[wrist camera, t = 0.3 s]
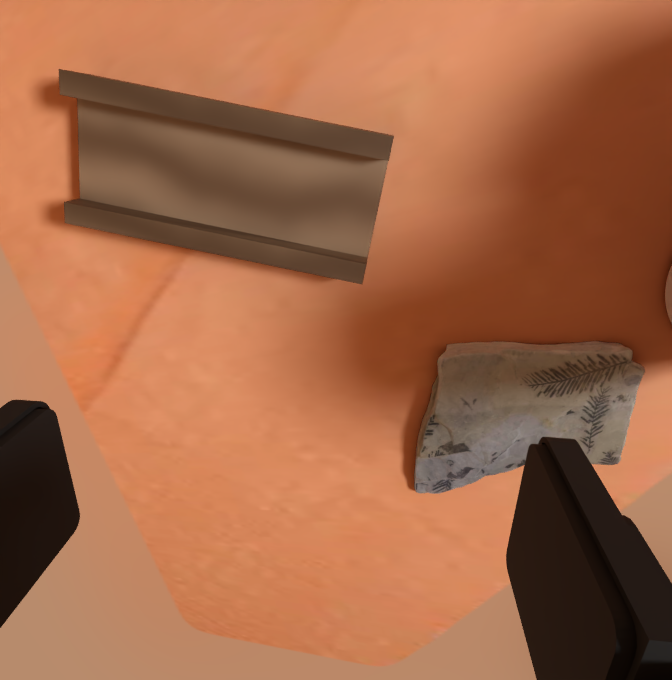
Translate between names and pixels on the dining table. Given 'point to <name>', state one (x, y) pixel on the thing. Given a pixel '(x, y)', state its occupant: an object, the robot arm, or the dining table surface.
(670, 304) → the cylinder vase
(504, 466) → the fossil rock
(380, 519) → the dining table surface
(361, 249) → the brown long channel piece
